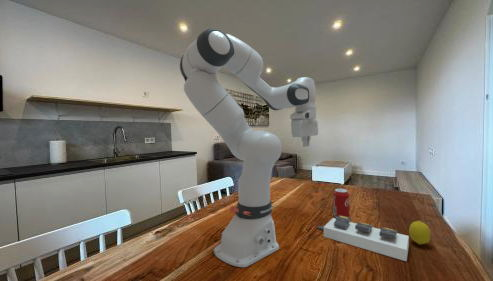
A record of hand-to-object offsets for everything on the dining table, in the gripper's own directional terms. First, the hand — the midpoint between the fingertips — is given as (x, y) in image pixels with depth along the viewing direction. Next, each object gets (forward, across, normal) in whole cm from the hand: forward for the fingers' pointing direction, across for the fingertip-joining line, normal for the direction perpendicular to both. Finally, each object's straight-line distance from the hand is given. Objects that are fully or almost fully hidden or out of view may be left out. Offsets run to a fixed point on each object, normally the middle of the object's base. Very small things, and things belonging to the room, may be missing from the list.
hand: (306, 146), depth 95 cm
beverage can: (+31, -6, +13) cm, 34 cm away
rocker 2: (+26, +10, +25) cm, 37 cm away
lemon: (+31, +2, +40) cm, 51 cm away
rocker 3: (+26, +10, +32) cm, 42 cm away
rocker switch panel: (+31, +10, +23) cm, 40 cm away
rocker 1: (+26, +10, +18) cm, 33 cm away
